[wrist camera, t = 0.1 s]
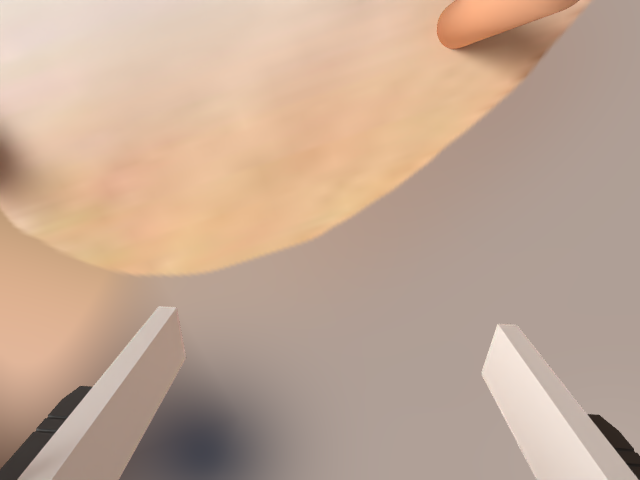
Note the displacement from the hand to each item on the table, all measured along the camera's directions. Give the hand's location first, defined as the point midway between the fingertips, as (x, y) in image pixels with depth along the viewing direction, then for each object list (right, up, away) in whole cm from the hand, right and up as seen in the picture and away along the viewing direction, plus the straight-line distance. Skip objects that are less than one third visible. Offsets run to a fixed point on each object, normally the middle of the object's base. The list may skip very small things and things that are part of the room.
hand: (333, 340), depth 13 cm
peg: (+13, +26, +19) cm, 34 cm away
